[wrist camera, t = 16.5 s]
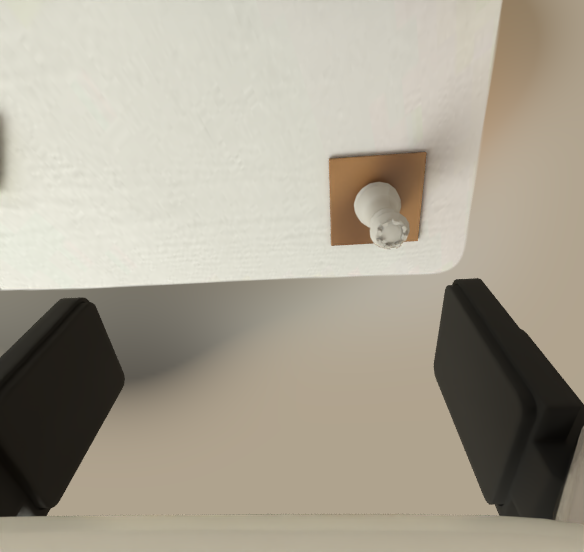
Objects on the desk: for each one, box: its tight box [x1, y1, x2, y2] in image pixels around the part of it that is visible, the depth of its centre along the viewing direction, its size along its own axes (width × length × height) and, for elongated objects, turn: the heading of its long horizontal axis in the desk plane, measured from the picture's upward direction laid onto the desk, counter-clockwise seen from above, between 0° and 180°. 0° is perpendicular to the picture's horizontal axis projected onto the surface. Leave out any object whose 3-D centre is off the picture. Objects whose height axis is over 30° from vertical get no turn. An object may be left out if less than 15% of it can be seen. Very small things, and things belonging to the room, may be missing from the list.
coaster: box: [329, 152, 427, 246], centre depth 37 cm, size 9×9×1 cm
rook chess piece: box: [354, 182, 410, 250], centre depth 33 cm, size 4×4×8 cm
